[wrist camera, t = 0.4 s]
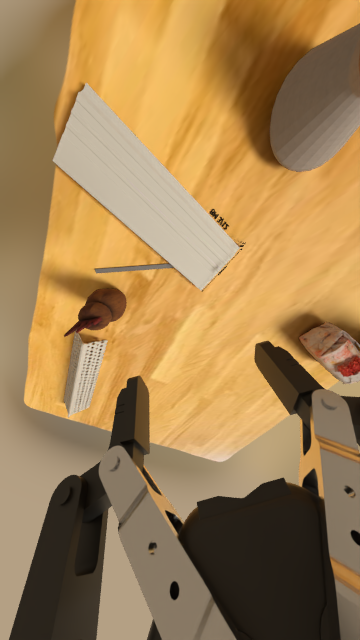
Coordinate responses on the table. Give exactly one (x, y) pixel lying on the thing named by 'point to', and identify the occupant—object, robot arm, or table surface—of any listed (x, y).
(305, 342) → the food item
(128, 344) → the table surface
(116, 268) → the thin grey rod
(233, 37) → the table surface
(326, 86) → the coffee pot
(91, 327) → the wooden figurine
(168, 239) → the baseboard molding
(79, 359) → the corner bead
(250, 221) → the table surface
